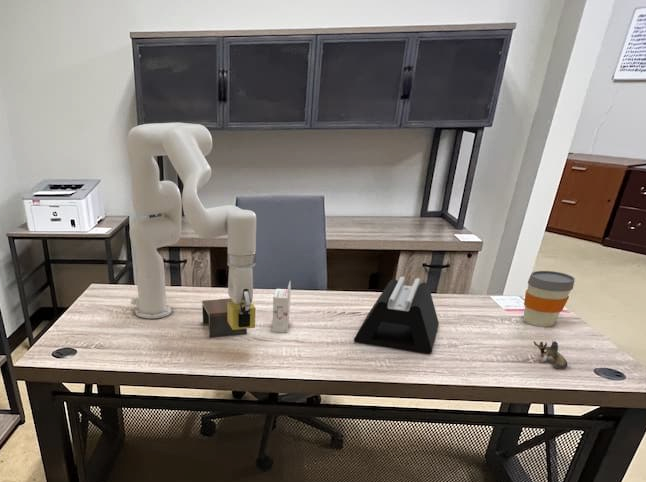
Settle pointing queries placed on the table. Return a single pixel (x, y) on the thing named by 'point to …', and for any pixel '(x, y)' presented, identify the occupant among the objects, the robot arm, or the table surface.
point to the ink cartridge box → (281, 309)
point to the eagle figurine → (552, 354)
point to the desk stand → (218, 318)
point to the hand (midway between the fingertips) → (240, 321)
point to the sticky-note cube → (234, 315)
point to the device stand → (401, 318)
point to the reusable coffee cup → (546, 297)
